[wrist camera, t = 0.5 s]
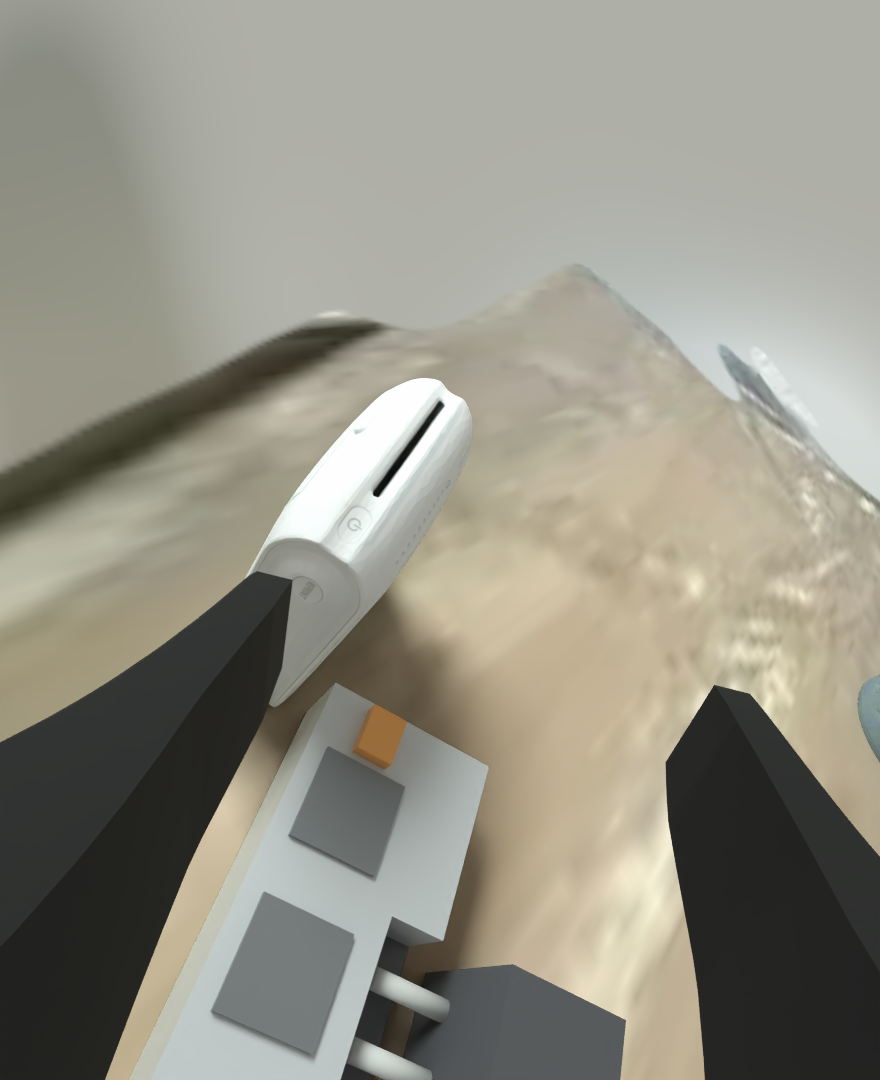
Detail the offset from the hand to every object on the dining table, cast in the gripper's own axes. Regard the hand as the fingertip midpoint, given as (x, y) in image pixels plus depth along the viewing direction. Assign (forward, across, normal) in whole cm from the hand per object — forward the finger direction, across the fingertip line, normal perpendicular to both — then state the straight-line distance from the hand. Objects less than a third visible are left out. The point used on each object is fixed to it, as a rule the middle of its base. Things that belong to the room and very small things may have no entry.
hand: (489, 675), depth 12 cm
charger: (+2, -3, +20) cm, 20 cm away
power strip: (+2, +2, +18) cm, 18 cm away
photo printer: (+15, +7, +13) cm, 21 cm away
